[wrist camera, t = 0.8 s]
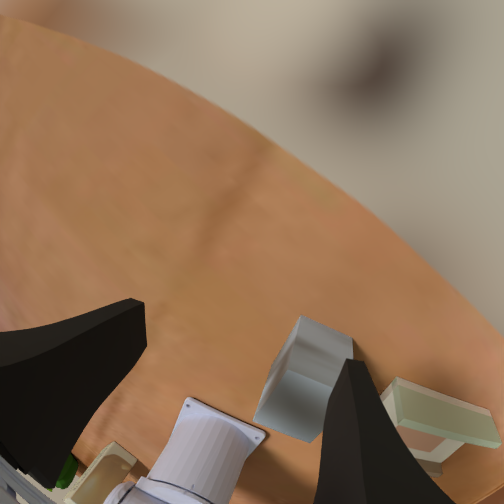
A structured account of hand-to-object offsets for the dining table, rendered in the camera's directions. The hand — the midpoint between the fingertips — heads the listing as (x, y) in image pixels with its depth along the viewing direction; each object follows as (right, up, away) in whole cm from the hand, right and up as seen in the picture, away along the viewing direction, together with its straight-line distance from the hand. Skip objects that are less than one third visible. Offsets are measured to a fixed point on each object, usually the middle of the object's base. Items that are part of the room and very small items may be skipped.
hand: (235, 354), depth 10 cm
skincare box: (-18, -26, +24) cm, 40 cm away
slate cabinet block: (+5, -4, +11) cm, 13 cm away
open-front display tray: (+15, -12, +11) cm, 22 cm away
